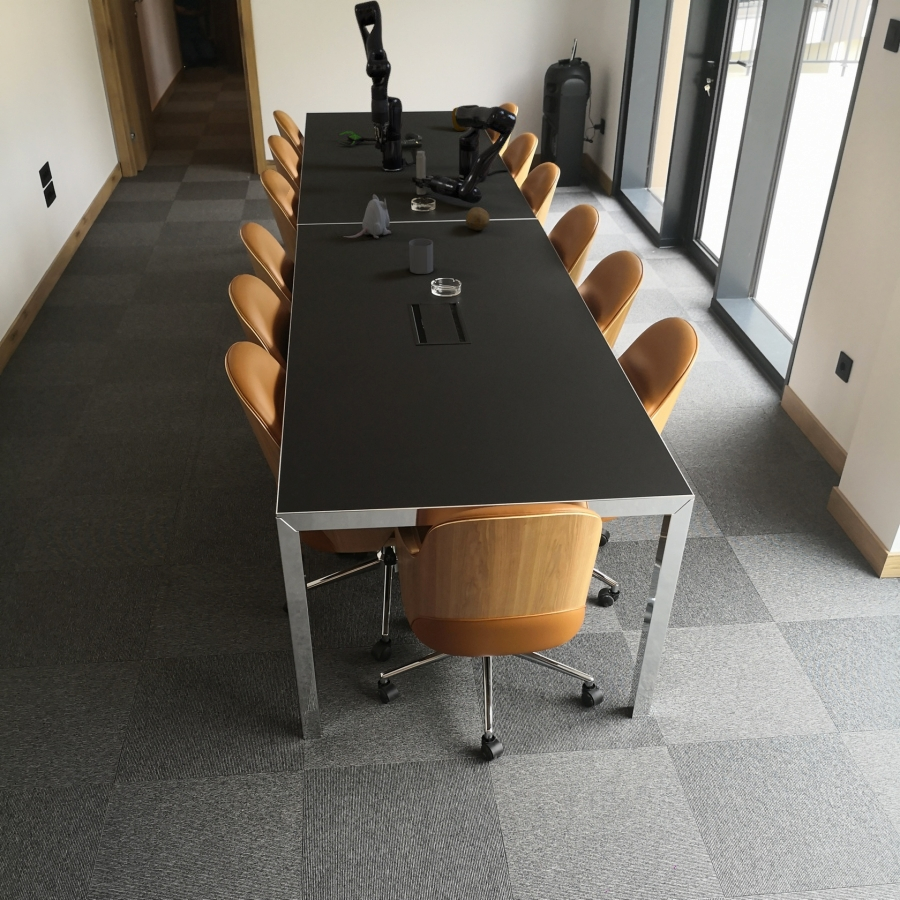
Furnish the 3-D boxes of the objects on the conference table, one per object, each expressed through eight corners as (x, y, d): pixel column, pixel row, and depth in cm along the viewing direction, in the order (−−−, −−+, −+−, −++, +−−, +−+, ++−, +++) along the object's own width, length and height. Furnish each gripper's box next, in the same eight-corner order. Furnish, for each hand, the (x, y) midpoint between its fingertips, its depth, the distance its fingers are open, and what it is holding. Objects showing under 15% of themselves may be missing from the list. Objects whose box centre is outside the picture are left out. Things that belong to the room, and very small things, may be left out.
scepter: (394, 128, 464) (338, 126, 462) (394, 143, 457) (337, 141, 455) (394, 137, 469) (338, 135, 467) (394, 152, 462) (337, 150, 460)
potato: (487, 223, 352) (488, 203, 348) (491, 234, 340) (491, 214, 336) (463, 223, 351) (463, 204, 347) (466, 235, 340) (466, 214, 335)
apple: (471, 132, 486) (471, 108, 479) (451, 132, 486) (451, 108, 479) (470, 128, 495) (471, 104, 488) (452, 128, 495) (452, 104, 488)
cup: (409, 265, 311) (408, 238, 306) (432, 265, 312) (431, 238, 307) (410, 274, 304) (409, 246, 299) (433, 273, 305) (433, 246, 299)
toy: (396, 233, 341) (395, 195, 333) (351, 248, 326) (349, 209, 318) (381, 228, 346) (379, 190, 338) (336, 243, 332) (333, 204, 324)
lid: (375, 146, 385) (375, 141, 384) (386, 146, 385) (386, 141, 384) (374, 149, 380) (374, 144, 379) (386, 149, 380) (386, 144, 379)
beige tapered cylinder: (421, 195, 385) (421, 153, 375) (414, 193, 387) (413, 151, 377) (428, 193, 388) (427, 151, 378) (420, 191, 390) (420, 149, 380)
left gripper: (367, 107, 379) (368, 147, 388) (376, 113, 367) (377, 155, 376) (383, 106, 381) (384, 146, 390) (393, 112, 370) (394, 153, 379)
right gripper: (455, 174, 378) (428, 166, 388) (431, 180, 369) (404, 172, 380) (455, 191, 382) (428, 183, 392) (431, 197, 373) (405, 189, 384)
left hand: (381, 150), depth 383 cm, fingers closed on lid, 5 cm apart
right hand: (417, 178), depth 386 cm, fingers closed on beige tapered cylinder, 4 cm apart
